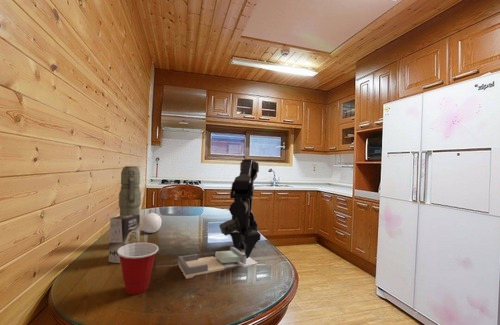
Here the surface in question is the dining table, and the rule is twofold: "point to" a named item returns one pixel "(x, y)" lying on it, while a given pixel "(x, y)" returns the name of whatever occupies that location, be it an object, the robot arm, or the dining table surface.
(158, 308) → the dining table surface
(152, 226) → the ornament
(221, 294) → the dining table surface
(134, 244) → the plastic cup
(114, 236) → the coffee box
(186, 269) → the dock
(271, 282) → the dining table surface
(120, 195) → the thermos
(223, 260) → the green block on base
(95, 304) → the dining table surface
